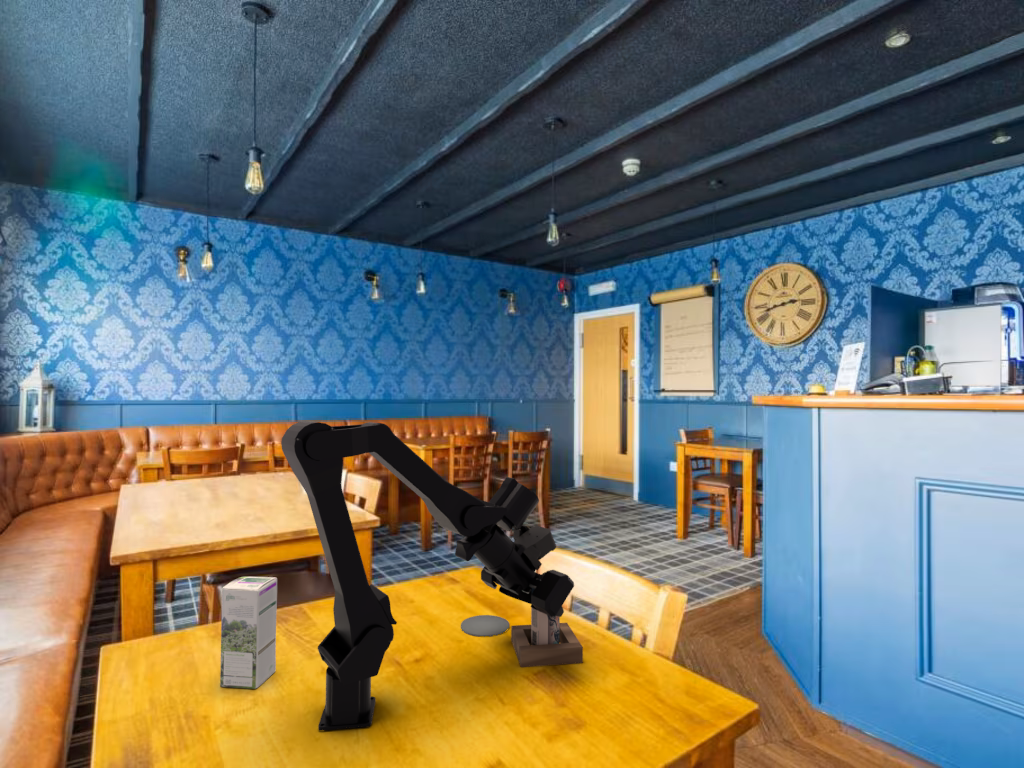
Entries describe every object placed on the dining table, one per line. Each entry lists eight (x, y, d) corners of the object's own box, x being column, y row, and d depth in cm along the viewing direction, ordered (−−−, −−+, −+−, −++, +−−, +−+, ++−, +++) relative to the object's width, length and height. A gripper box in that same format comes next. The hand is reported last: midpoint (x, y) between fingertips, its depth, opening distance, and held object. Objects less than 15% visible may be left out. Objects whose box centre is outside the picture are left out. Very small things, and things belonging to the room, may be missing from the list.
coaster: (512, 635, 98) (512, 632, 98) (462, 638, 97) (462, 635, 97) (505, 616, 107) (505, 614, 107) (459, 618, 106) (459, 616, 106)
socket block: (582, 662, 88) (582, 647, 88) (520, 667, 86) (520, 650, 86) (567, 636, 98) (567, 622, 98) (511, 640, 96) (511, 625, 96)
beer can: (557, 659, 89) (558, 583, 90) (528, 656, 90) (529, 581, 91) (561, 646, 94) (561, 575, 94) (533, 643, 95) (533, 573, 95)
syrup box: (277, 671, 85) (279, 575, 85) (255, 691, 79) (257, 588, 79) (241, 669, 85) (244, 574, 86) (217, 688, 79) (220, 586, 80)
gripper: (564, 522, 83) (616, 583, 89) (495, 504, 98) (543, 557, 104) (522, 585, 78) (580, 645, 84) (456, 555, 93) (509, 608, 99)
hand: (551, 609), depth 93 cm, fingers closed on beer can, 5 cm apart
